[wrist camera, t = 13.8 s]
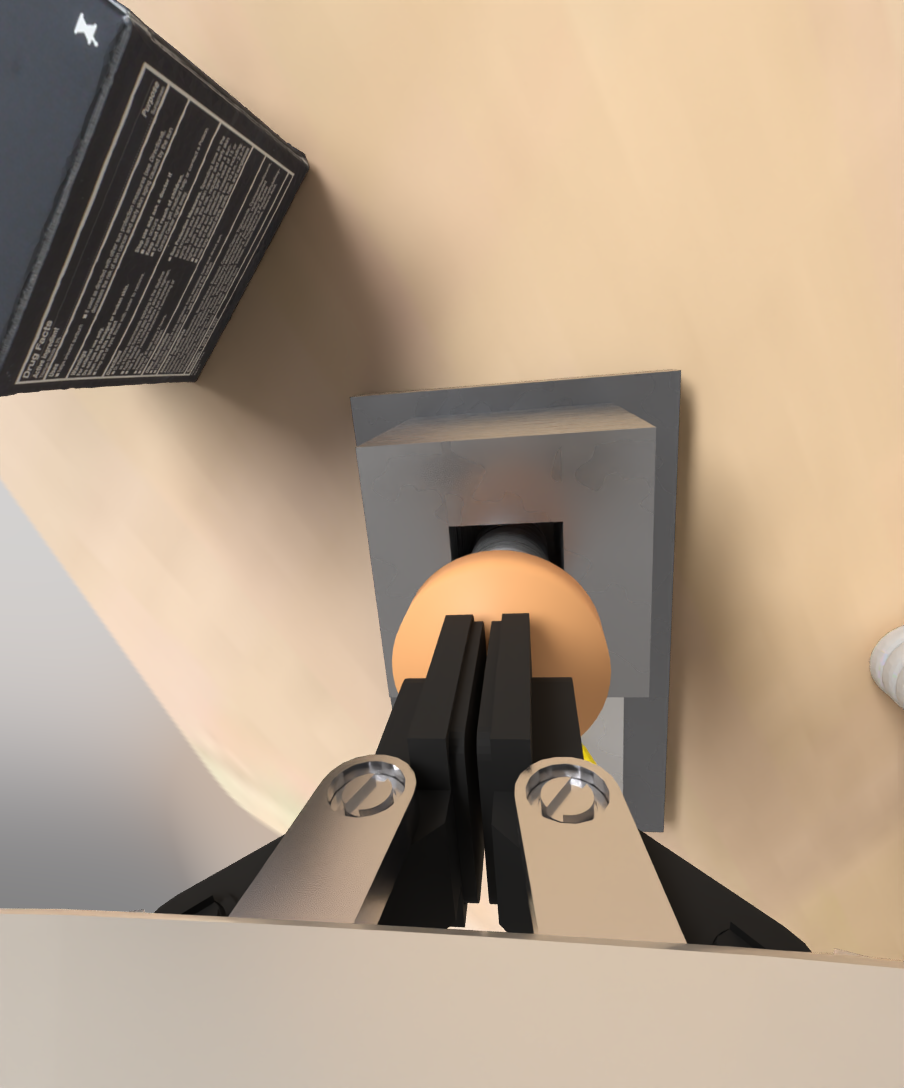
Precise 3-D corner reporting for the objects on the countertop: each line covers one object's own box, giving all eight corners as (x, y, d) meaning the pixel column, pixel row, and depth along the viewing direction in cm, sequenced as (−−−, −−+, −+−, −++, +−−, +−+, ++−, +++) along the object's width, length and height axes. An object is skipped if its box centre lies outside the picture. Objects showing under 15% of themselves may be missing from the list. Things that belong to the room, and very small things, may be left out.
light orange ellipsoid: (577, 479, 18) (611, 566, 10) (579, 608, 19) (610, 764, 12) (439, 487, 18) (379, 574, 11) (450, 611, 20) (404, 761, 12)
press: (671, 369, 23) (763, 378, 14) (657, 809, 29) (712, 1007, 21) (360, 394, 25) (264, 417, 16) (413, 802, 31) (366, 980, 22)
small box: (177, 52, 22) (-121, -205, 12) (317, 164, 22) (146, 10, 12) (74, 296, 25) (-223, 258, 15) (197, 388, 26) (-11, 408, 16)
